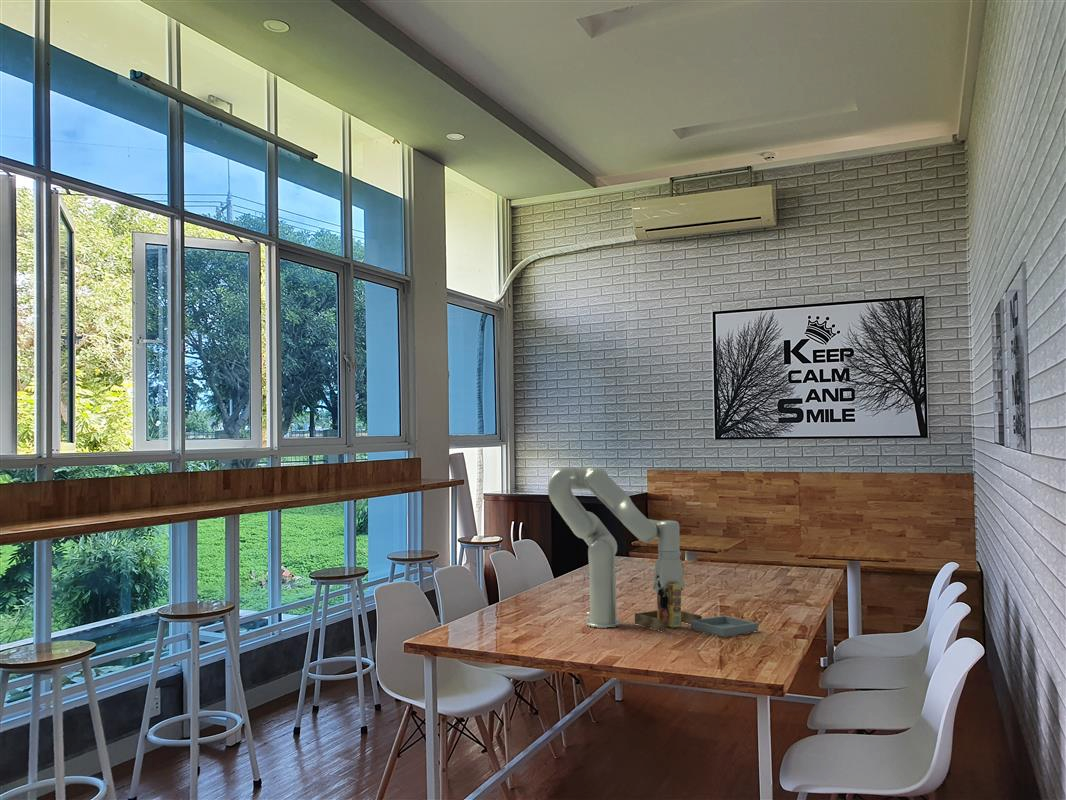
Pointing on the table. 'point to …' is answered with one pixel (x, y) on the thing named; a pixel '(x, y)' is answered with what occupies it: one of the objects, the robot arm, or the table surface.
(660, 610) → the candy box
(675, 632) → the table surface
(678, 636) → the table surface
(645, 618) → the walnut bay
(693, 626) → the slate tray
